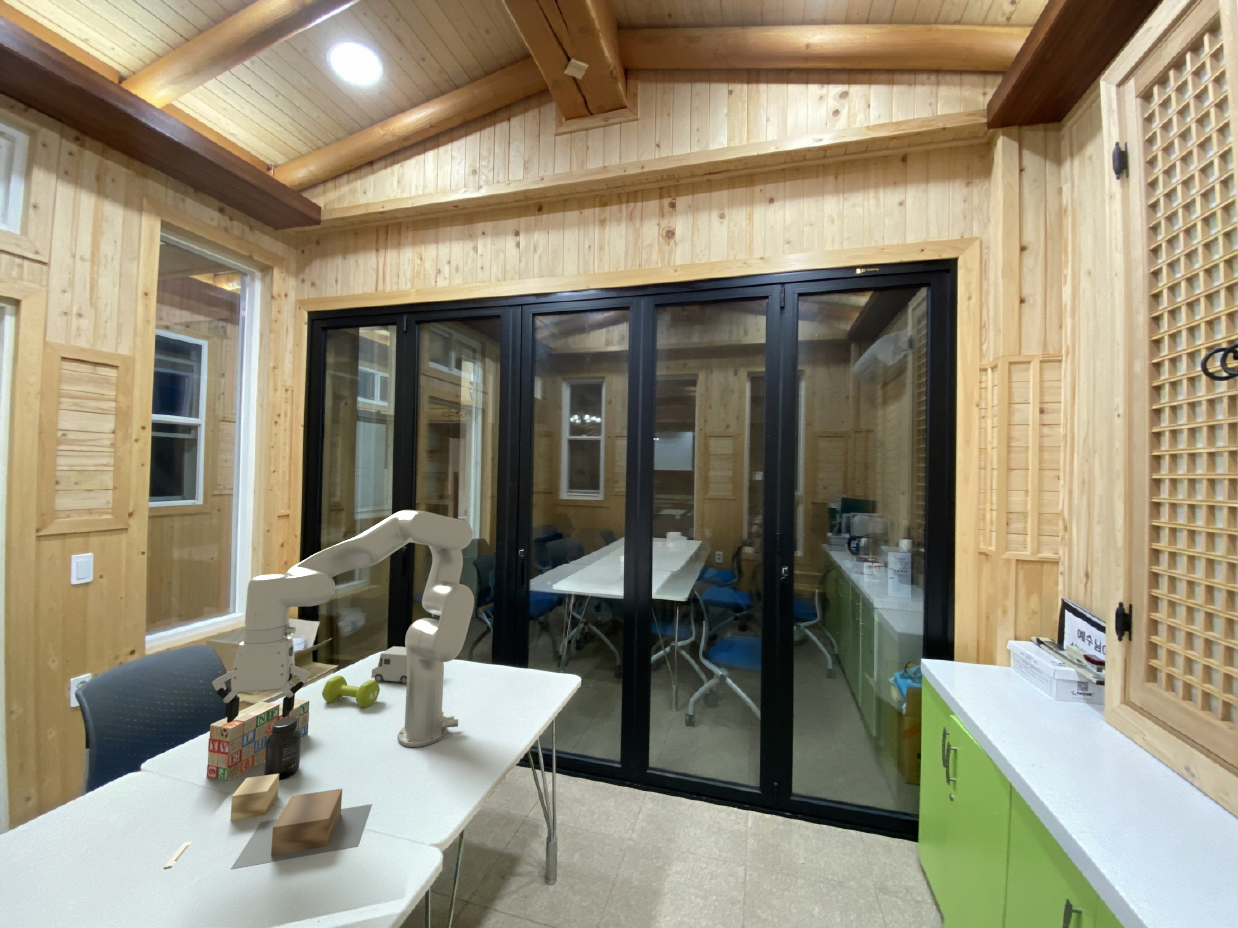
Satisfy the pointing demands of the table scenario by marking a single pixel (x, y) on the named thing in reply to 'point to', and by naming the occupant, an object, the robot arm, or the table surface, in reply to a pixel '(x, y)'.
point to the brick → (306, 822)
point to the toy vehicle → (392, 666)
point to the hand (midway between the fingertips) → (260, 716)
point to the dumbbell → (351, 691)
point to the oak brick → (254, 796)
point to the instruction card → (177, 854)
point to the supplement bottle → (283, 749)
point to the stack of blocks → (248, 737)
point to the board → (342, 838)
